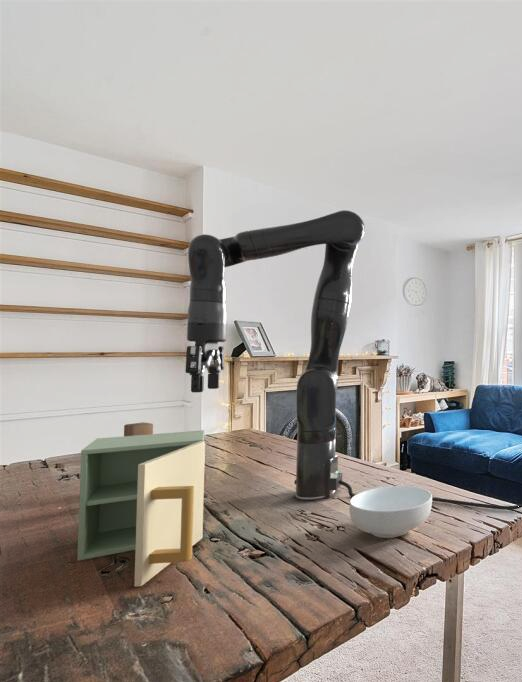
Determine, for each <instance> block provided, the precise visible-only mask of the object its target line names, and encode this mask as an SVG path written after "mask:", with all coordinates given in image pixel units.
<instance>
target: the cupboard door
mask: <svg viewBox="0 0 522 682" xmlns="http://www.w3.org/2000/svg"><path fill="white" fill-rule="evenodd" d="M205 455H206V440H204V441H199V442H197V443H194V444H192V445H189V446H186V447H184V448H181V449H178V450H176V451H173V452H170V453H168V454H165V455H162V456H160V457H157V458H155V459H152V460H149V461H147V462H144V463H141V464H139V465H138V488H137V520H136V550H135V553H134V555H135V557H134V585H133V586H134V588H136V587H142V586H143V585H145V584H146V583H148V582H149V581H150V580H151V579H153V578H154V577H155V576H156V575H158V574H159V573H160V572H161V571H163V570H164V569H165V568H167V567H168V566H169V565H171V564H172V563H186V562H189V561H191V560H192V558H193V546H194V545H196V544H197V543H198V542H199V541H201V540H202V539H203V538H204V537H203V534H204V533H203V531H204V527H203V526H204V501H205V500H204V499H205V497H204V495H205V488H204V471H205V468H206V467H205V464H206V463H205V462H206V461H205V460H206V456H205Z"/></svg>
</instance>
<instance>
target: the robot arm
mask: <svg viewBox="0 0 522 682" xmlns="http://www.w3.org/2000/svg"><path fill="white" fill-rule="evenodd" d="M365 229H366V227H365V223H364V220H363V219H362V218H361V216H360V215H359V214H358V213H356V212H354V211H351V210H347V209H346V210H345V209H342V210H338V211H335V212H332V213H330V214H326V215H324V216H320V217H317V218H314V219H313V218H312V219H310V220H306V221H302V222H296V223H290V224H284V225H278V226H272V227H264V228H258V229H250V230H245V231H241V232H238V233H236V235H234V236H230V237H226V238H224V237H223V238H221V239H220V238H218V237H216V236H214V235H211V234H199V235H197V236H195V237H194V238H192V239H191V241H190V242H189V244H188V250H187V258H188V271H189V276H190V285H189V304H188V308H187V323H186V324H187V326H186V329H187V330H186V340H187V341H188V342H194V345H187V347H186V357H185V370H184V371H185V373H186V374H189V376H191V377H190V392H191V393H203V392H204V390H205V389H204V388H205V387H204V385H205V372H206V370H207V388H208V389H209V390H214V389H215V390H216V389H219V388H220V374H221V373H222V371H224V370H225V346H222V345H221V346H219V344H218V343H225V342H226V341H227V328H228V327H227V326H228V325H227V323H228V321H227V320H228V319H227V318H228V311H227V284H226V281H225V268H229V267H232V266H236V265H239V264H242V263H245V262H250V261H255V260H262V259H267V258H273V257H279V256H281V255H286V254H289V253H292V252H296V251H298V250H301V249H305V248H309V247H314V246H319V245H325V248H324V249H325V250H324V260H323V266H322V269H321V272H320V275H319V278H318V281H317V284H316V288H315V292H314V297H313V302H312V308H311V317H310V350H309V355H308V358H307V364H306V367H305V369H304V372H303V373H302V374H301V375H300V376H299V377H298V380H297V384H296V394H295V395H296V398H295V399H296V400H295V402H296V403H295V404H296V405H295V406H296V407H295V410H296V413H295V417H296V424H297V426H296V428H297V431H296V433H297V434H296V470H295V472H296V473H295V480H294V485H295V494H294V495H295V496H294V497H295V498H296V500H299V501H316V500H323V499H330V498H331V497H332V496H334V495H335V493H336V492H338V489H339V488H340V487H341V486H343V487H345V488H347V490H348V495H349V497H351V498H352V497H354V496H355V495H356V494H355V493H353V488H352V486H351V485H350V484H349V483H348V482H345V481H344V480H343V472H338V470H339V469H338V468H339V461H338V460H339V455H338V454H336V443H337V441H336V439H337V414H336V413H337V412H336V411H337V409H336V408H337V406H336V405H337V389H338V385H339V384H338V380H339V379H338V376H339V375H338V372H339V371H338V370H339V358H340V351H341V347H342V344H343V340H344V337H345V334H346V330H347V327H348V321H349V317H350V312H351V306H352V298H353V297H352V296H353V275H352V274H353V272H352V271H353V266H354V265H353V264H354V261H355V256H356V253H357V249H358V247H359V244H360V242H361V241H362V240H363V237H364V235H365ZM432 502H437V503H446V504H452V505H453V504H454V505H462V506H467V507H476V508H485V509H494V510H504V511H512V510H518V509H522V508H521V507H522V503H520V504H515V505H499V504H488V503H480V502H471V501H463V500H457V499H456V500H455V499H450V498H449V499H448V498H442V497H433V496H432ZM518 506H519V507H518Z"/></svg>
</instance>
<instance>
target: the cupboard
mask: <svg viewBox="0 0 522 682" xmlns="http://www.w3.org/2000/svg"><path fill="white" fill-rule="evenodd" d="M199 441H205V429H202V430H187V431H176V432H164V433H153V434H149V435H136V436H124V435H123V436H113V437H112V436H111V437H110V436H109V437H101V438H100V437H99V438H98V437H97V438H96V439H94V440H93V441H91V442H90V443H89V444H87V446H85V447H84V448H82V449H81V450H80V472H79V474H80V475H79V503H78V504H79V505H78V527H77V528H78V532H77V556H76V557H77V561H82V560H89V559H93V558H94V559H95V558H99V557H103V556H110V555H115V554H119V553H125V552H130V551H136V520H137V488H138V465H139V464H141V463H144V462H147V461H149V460H152V459H155V458H157V457H160V456H162V455H165V454H168V453H170V452H173V451H176V450H178V449H181V448H184V447H186V446H189V445H192V444H194V443H197V442H199Z"/></svg>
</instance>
